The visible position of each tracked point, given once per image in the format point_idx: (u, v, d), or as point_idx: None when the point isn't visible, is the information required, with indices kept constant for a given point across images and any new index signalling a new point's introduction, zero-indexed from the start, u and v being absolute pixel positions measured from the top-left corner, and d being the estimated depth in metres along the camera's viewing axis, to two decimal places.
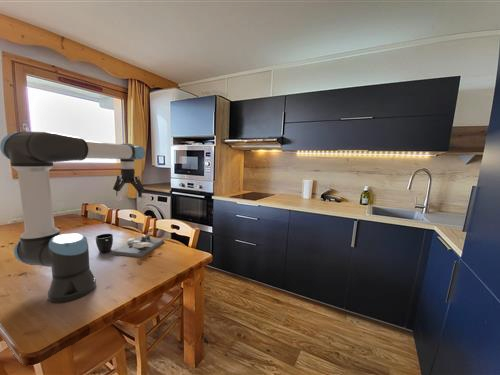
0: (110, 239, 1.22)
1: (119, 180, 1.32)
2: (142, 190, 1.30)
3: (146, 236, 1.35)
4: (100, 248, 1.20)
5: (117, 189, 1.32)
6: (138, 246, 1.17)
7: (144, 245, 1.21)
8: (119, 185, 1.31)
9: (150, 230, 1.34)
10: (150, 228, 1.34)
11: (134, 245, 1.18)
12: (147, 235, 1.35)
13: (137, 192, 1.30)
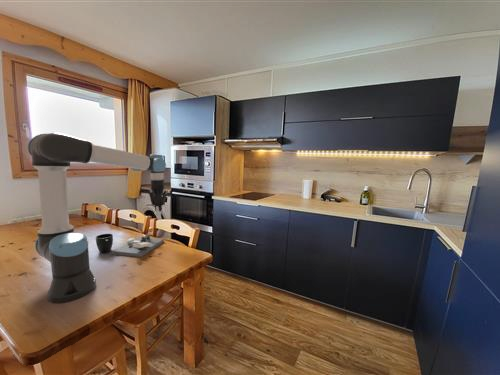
0: (110, 239, 1.22)
1: (151, 193, 1.32)
2: None
3: (146, 236, 1.35)
4: (100, 248, 1.20)
5: (155, 203, 1.31)
6: (138, 246, 1.17)
7: (144, 245, 1.21)
8: (154, 199, 1.31)
9: (150, 230, 1.34)
10: (150, 228, 1.34)
11: (134, 245, 1.18)
12: (147, 235, 1.35)
13: (158, 206, 1.31)
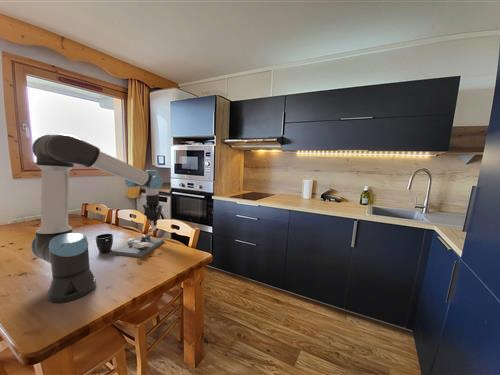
0: (110, 239, 1.22)
1: (147, 208, 1.33)
2: (157, 219, 1.32)
3: (146, 236, 1.35)
4: (100, 248, 1.20)
5: (150, 218, 1.33)
6: (138, 246, 1.17)
7: (144, 245, 1.21)
8: (149, 213, 1.32)
9: (150, 230, 1.34)
10: (150, 228, 1.34)
11: (134, 245, 1.18)
12: (147, 235, 1.35)
13: (152, 221, 1.32)
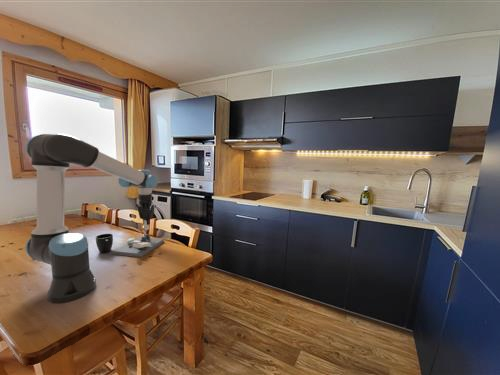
0: (110, 239, 1.22)
1: (140, 207, 1.34)
2: None
3: (144, 236, 1.35)
4: (100, 248, 1.20)
5: (143, 217, 1.33)
6: (138, 246, 1.17)
7: (144, 245, 1.21)
8: (142, 213, 1.33)
9: (143, 227, 1.34)
10: (142, 226, 1.35)
11: (134, 245, 1.18)
12: (144, 234, 1.35)
13: (145, 220, 1.33)
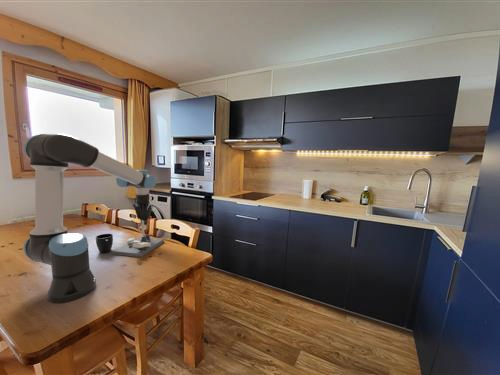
0: (110, 239, 1.22)
1: (137, 207, 1.34)
2: None
3: None
4: (100, 248, 1.20)
5: (141, 217, 1.34)
6: (138, 246, 1.17)
7: (144, 245, 1.21)
8: (140, 213, 1.33)
9: (140, 228, 1.35)
10: (139, 227, 1.35)
11: (134, 245, 1.18)
12: (143, 234, 1.35)
13: None
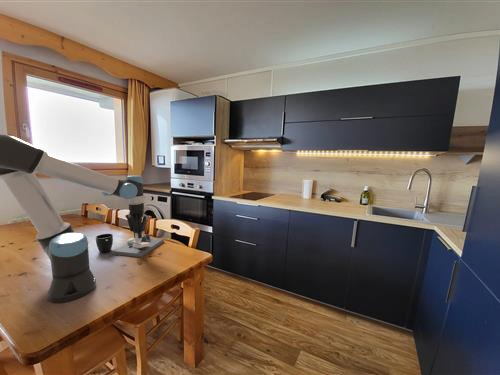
0: (110, 239, 1.22)
1: (130, 218, 1.17)
2: (142, 231, 1.16)
3: None
4: (100, 248, 1.20)
5: (134, 230, 1.17)
6: (138, 246, 1.17)
7: (144, 245, 1.21)
8: (133, 225, 1.16)
9: None
10: None
11: (134, 245, 1.18)
12: (143, 234, 1.35)
13: (137, 233, 1.16)
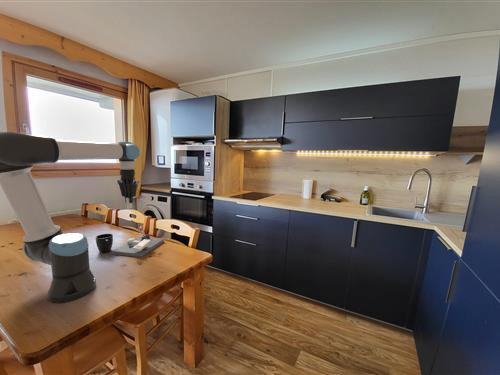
0: (110, 239, 1.22)
1: (122, 184, 1.23)
2: (132, 196, 1.22)
3: None
4: (100, 248, 1.20)
5: (125, 195, 1.22)
6: (138, 249, 1.17)
7: (144, 246, 1.21)
8: (124, 190, 1.22)
9: (140, 228, 1.35)
10: (139, 227, 1.35)
11: (134, 248, 1.18)
12: (143, 234, 1.35)
13: (128, 198, 1.22)
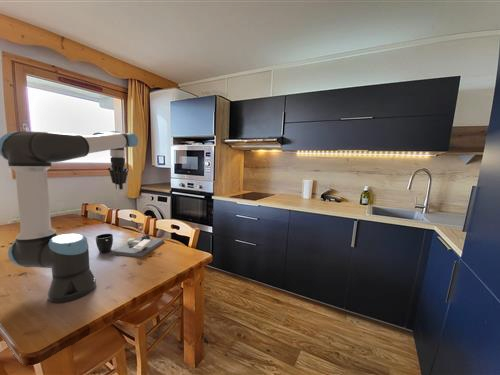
0: (110, 239, 1.22)
1: (112, 171, 1.31)
2: (123, 183, 1.30)
3: None
4: (100, 248, 1.20)
5: (116, 181, 1.30)
6: (138, 249, 1.17)
7: (144, 246, 1.21)
8: (115, 177, 1.30)
9: (140, 228, 1.35)
10: (139, 227, 1.35)
11: (134, 248, 1.18)
12: (143, 234, 1.35)
13: (118, 184, 1.30)
